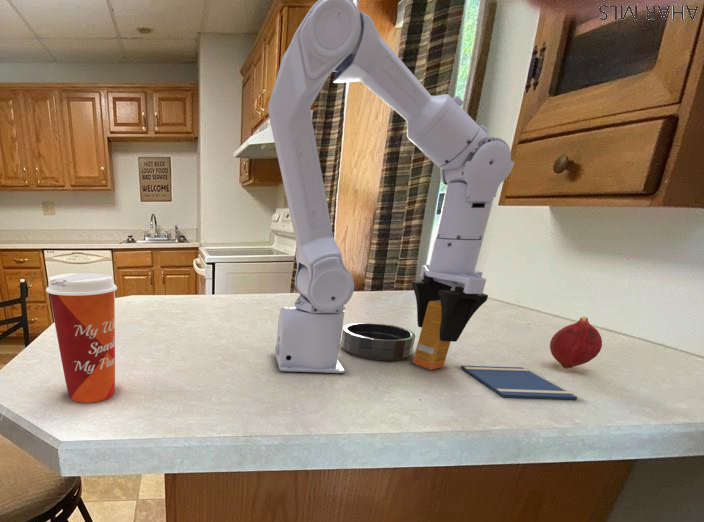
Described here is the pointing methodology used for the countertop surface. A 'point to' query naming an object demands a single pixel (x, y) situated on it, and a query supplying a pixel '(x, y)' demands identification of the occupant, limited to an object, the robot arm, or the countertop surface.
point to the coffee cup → (85, 333)
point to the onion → (576, 344)
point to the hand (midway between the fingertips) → (436, 333)
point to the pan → (377, 341)
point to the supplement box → (431, 339)
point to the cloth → (517, 383)
